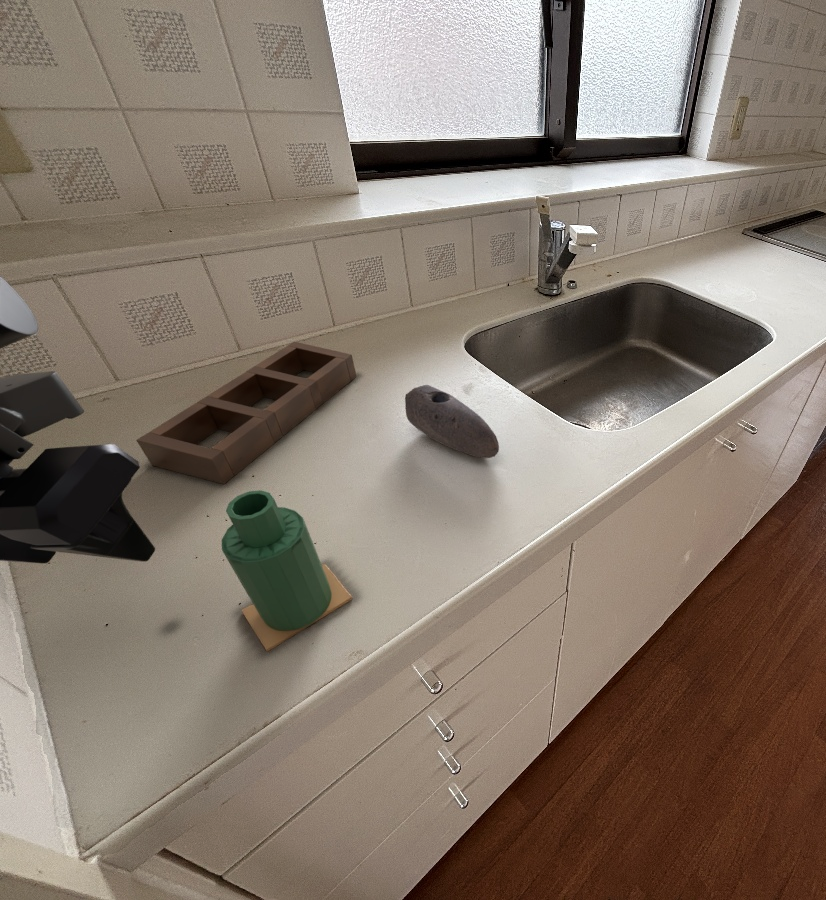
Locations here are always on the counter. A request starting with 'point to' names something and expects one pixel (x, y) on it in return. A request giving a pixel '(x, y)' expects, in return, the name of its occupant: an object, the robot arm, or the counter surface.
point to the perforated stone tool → (450, 422)
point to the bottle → (275, 561)
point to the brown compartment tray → (248, 413)
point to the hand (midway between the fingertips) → (99, 556)
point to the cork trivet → (276, 637)
